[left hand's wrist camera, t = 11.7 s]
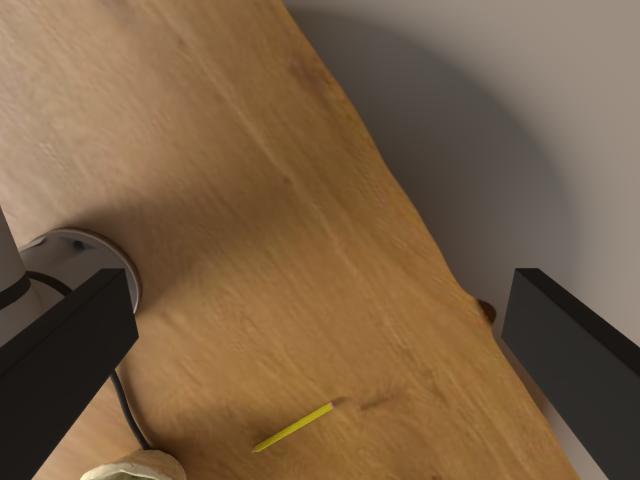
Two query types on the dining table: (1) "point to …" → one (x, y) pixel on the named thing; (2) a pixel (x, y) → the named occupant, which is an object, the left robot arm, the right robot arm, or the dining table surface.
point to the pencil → (294, 426)
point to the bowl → (139, 468)
